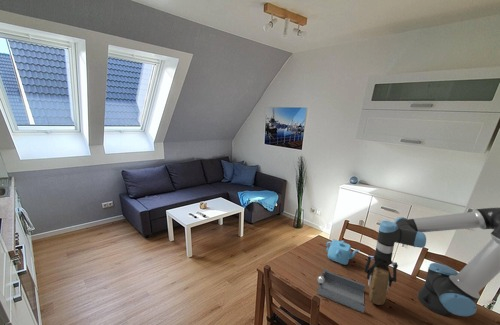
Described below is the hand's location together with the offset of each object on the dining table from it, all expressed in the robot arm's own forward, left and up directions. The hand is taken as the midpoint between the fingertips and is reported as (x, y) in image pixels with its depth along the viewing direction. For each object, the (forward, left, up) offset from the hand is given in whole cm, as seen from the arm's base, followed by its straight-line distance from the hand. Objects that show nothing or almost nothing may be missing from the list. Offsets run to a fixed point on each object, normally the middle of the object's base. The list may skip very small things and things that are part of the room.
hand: (377, 287), depth 116 cm
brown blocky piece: (0, 0, -7) cm, 7 cm away
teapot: (+20, -28, -9) cm, 36 cm away
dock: (+18, +4, -9) cm, 20 cm away
